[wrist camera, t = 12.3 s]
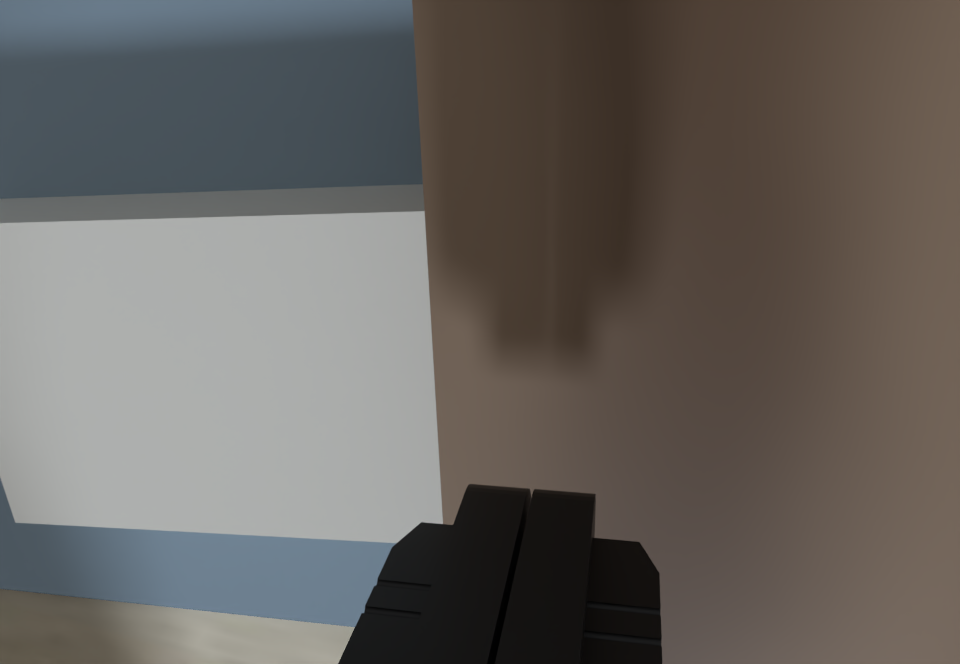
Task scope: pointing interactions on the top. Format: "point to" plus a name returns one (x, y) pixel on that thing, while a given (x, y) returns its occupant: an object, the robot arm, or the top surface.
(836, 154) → the deck
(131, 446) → the white rectangular block
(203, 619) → the top surface
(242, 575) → the mat
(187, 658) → the top surface
